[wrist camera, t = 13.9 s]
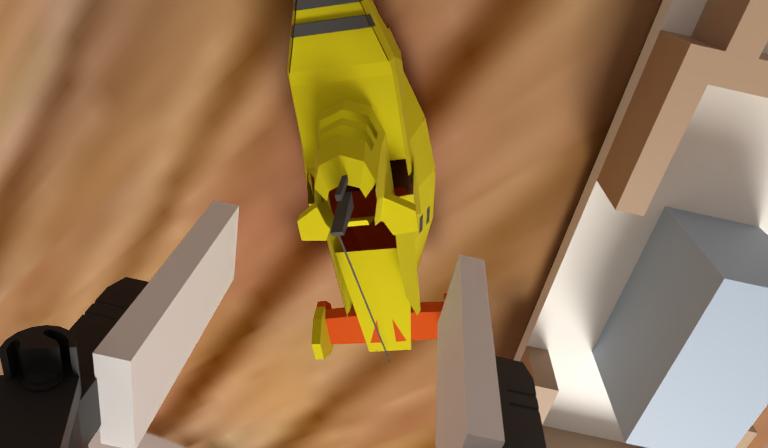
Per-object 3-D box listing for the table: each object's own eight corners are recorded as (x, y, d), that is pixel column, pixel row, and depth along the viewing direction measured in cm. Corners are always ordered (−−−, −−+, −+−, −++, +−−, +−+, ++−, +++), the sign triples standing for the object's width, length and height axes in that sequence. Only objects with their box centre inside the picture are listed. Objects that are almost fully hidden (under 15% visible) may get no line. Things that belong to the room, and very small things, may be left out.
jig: (849, -451, 16) (963, -555, 13) (1214, -360, 17) (1424, -438, 13) (489, 416, 34) (495, 473, 30) (668, 454, 34) (695, 514, 31)
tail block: (665, 206, 25) (724, 278, 20) (759, 227, 26) (842, 304, 20) (591, 351, 30) (625, 443, 25) (672, 369, 30) (723, 463, 25)
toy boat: (341, 308, 31) (303, 457, 22) (266, -42, 23) (160, -24, 14) (455, 301, 30) (463, 453, 22) (419, -67, 22) (407, -63, 13)
